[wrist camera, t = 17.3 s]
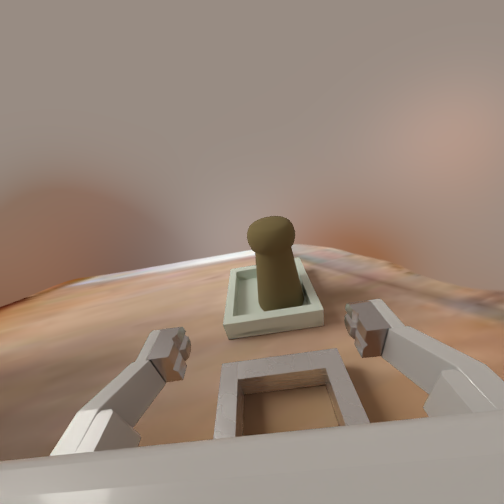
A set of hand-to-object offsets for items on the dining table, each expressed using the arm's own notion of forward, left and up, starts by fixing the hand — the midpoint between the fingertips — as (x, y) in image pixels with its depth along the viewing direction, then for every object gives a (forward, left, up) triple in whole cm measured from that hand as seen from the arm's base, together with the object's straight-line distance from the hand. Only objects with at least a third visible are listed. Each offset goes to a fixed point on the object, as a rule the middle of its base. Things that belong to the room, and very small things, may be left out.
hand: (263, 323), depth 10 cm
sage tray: (0, +14, -11) cm, 18 cm away
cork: (+2, +13, -11) cm, 16 cm away
